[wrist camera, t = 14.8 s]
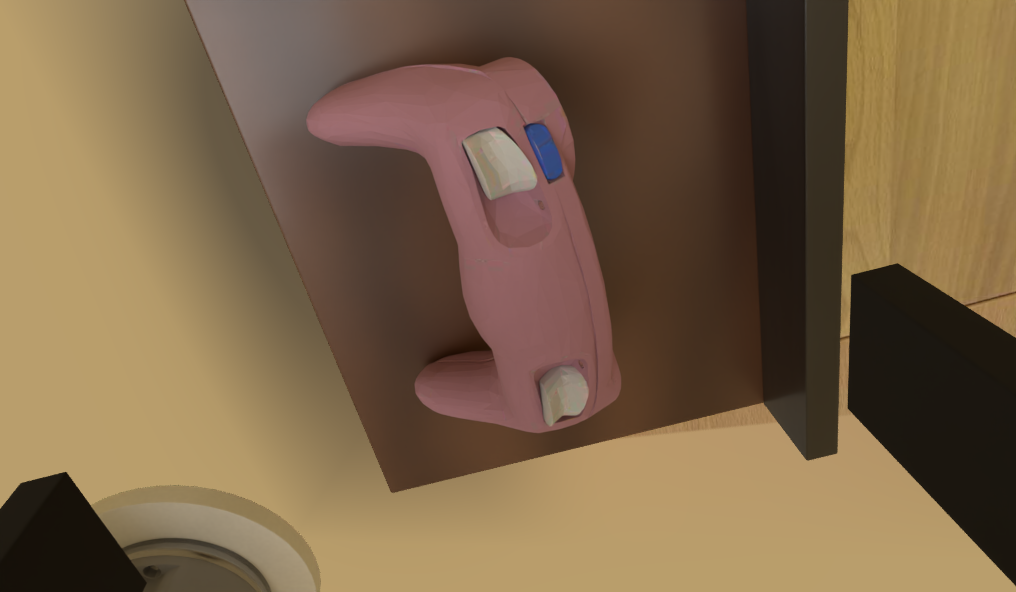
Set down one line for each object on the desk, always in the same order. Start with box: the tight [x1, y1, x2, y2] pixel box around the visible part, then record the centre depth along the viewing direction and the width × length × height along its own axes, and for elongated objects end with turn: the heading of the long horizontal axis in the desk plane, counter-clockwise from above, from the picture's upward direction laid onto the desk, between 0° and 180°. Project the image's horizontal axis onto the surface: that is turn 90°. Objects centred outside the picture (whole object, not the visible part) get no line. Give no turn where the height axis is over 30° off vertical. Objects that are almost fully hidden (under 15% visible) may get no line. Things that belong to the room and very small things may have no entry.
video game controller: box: [306, 57, 621, 433], centre depth 16 cm, size 10×5×7 cm, turn 15°
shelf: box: [184, 0, 849, 493], centre depth 18 cm, size 14×18×4 cm
